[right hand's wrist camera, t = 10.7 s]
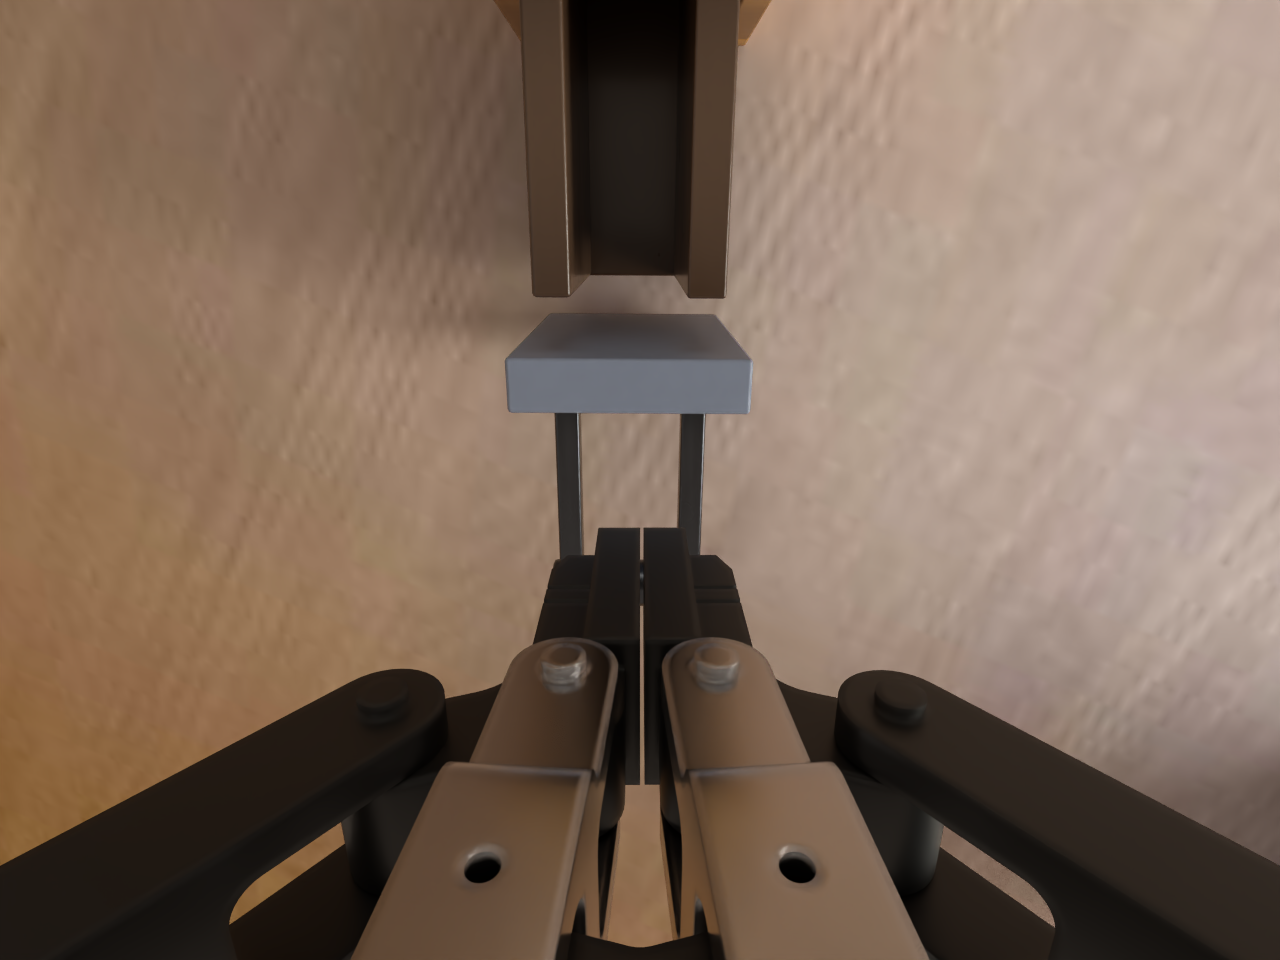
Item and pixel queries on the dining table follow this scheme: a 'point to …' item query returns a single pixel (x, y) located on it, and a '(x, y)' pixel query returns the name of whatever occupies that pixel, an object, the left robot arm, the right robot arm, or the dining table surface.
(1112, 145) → the dining table surface
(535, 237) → the drawer
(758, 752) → the right robot arm
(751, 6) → the cabinet
